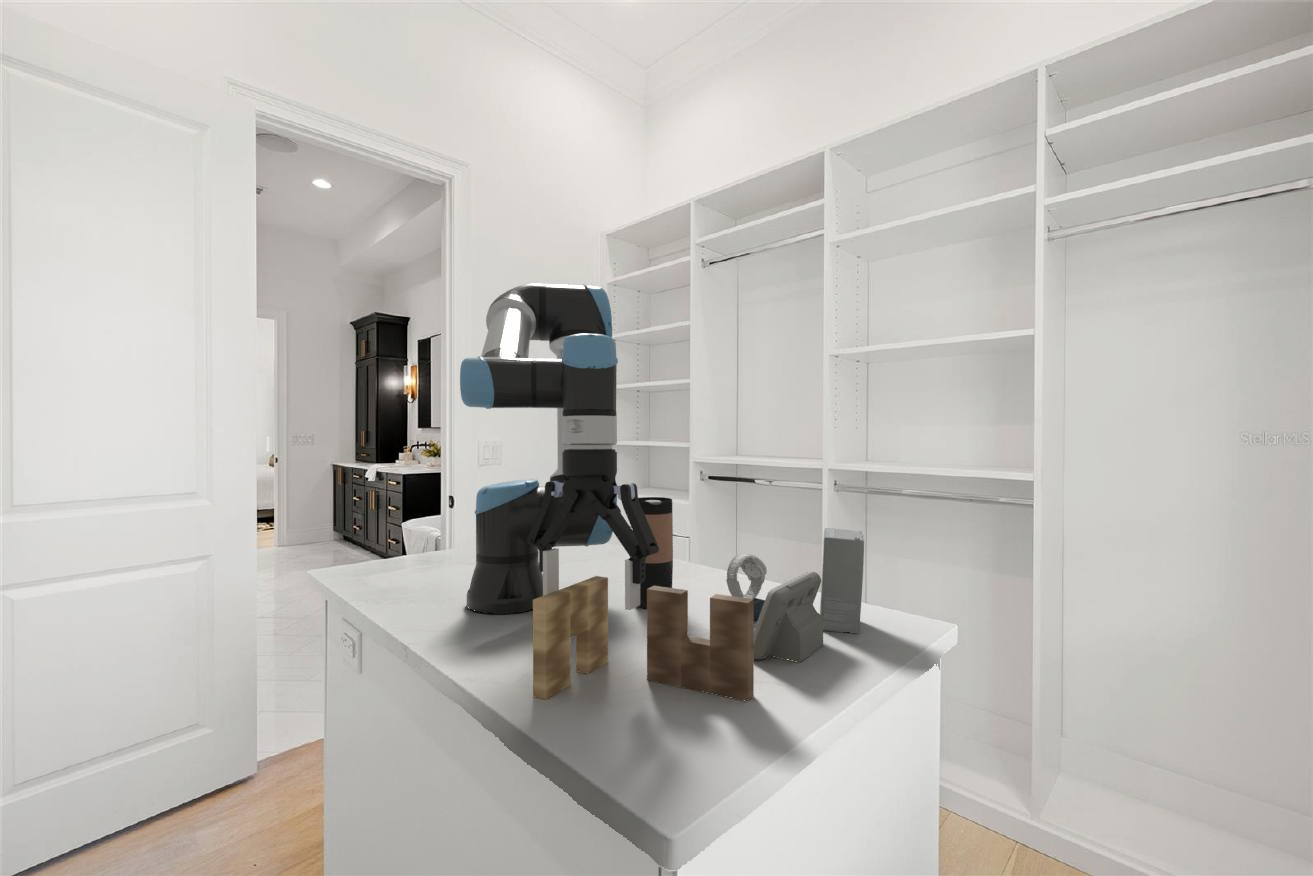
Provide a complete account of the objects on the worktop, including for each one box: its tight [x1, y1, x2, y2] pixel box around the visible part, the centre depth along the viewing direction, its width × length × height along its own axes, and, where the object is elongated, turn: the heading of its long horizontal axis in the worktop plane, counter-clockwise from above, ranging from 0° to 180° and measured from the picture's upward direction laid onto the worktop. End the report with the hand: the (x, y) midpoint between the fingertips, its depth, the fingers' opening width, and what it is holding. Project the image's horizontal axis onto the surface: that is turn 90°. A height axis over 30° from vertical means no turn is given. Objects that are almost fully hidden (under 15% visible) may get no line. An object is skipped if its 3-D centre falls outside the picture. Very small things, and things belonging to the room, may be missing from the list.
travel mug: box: [636, 496, 674, 611], centre depth 115 cm, size 8×8×20 cm
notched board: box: [532, 575, 609, 700], centre depth 81 cm, size 14×2×12 cm, turn 152°
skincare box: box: [819, 527, 865, 635], centre depth 103 cm, size 8×7×16 cm
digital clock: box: [754, 571, 824, 663], centre depth 92 cm, size 16×9×11 cm, turn 132°
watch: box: [725, 553, 768, 623], centre depth 108 cm, size 6×8×11 cm
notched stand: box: [646, 586, 755, 702], centre depth 78 cm, size 14×2×12 cm, turn 62°
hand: (590, 601), depth 84 cm, fingers open, 13 cm apart
